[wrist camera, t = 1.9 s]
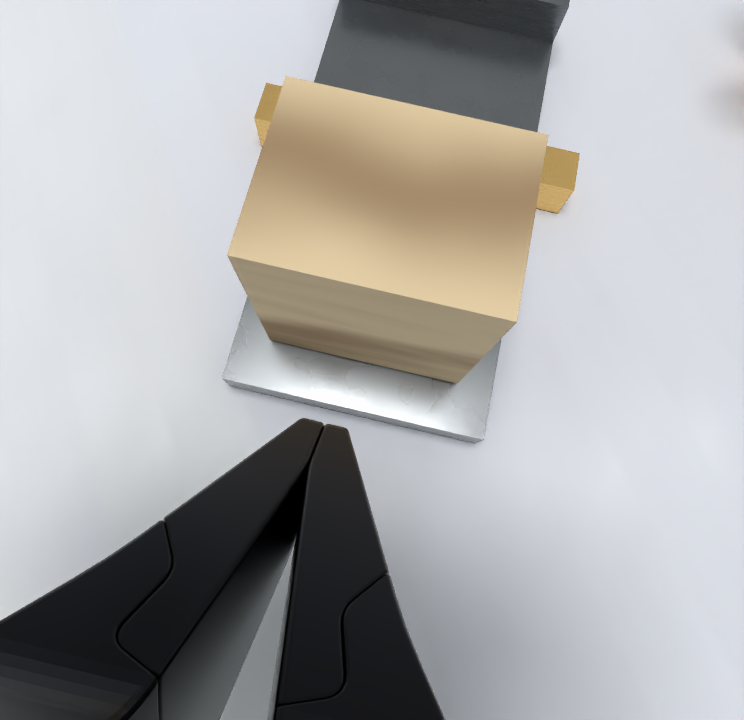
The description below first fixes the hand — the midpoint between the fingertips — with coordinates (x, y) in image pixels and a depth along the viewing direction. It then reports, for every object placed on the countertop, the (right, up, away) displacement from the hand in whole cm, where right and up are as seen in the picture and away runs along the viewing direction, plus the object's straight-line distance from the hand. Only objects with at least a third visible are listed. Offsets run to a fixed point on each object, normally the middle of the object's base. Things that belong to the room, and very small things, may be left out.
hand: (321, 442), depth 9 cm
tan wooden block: (+1, +4, +13) cm, 14 cm away
